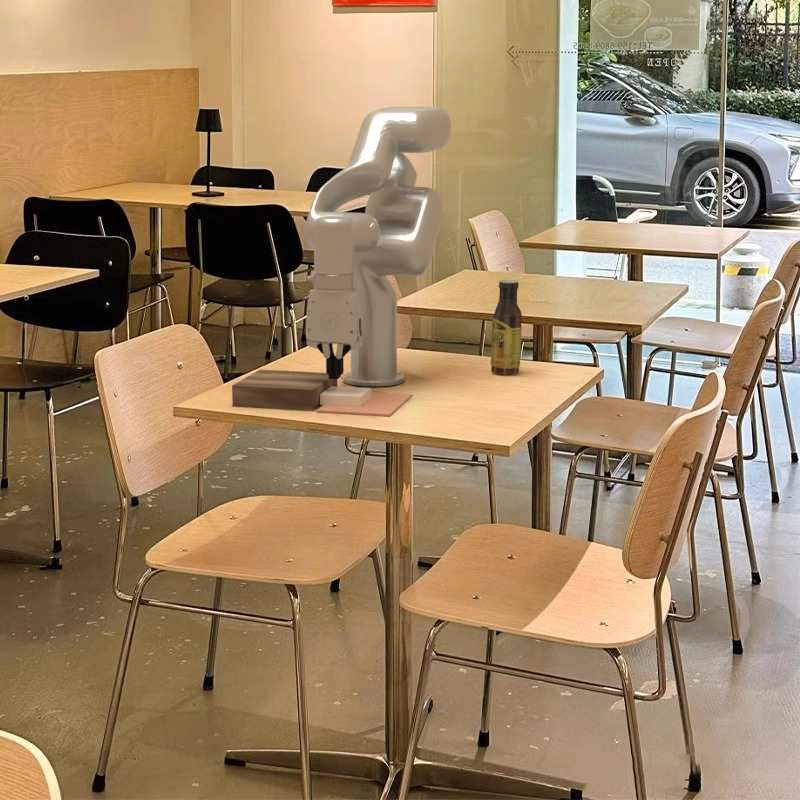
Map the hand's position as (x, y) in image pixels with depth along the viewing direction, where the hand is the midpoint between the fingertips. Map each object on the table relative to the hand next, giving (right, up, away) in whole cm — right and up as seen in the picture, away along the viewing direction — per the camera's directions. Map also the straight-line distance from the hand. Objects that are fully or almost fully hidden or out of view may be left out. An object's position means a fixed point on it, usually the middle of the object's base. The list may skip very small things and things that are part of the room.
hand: (334, 377), depth 260 cm
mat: (+6, -5, 0) cm, 8 cm away
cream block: (+2, -5, 0) cm, 5 cm away
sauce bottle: (+35, +1, +29) cm, 45 cm away
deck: (-10, -4, +3) cm, 11 cm away
